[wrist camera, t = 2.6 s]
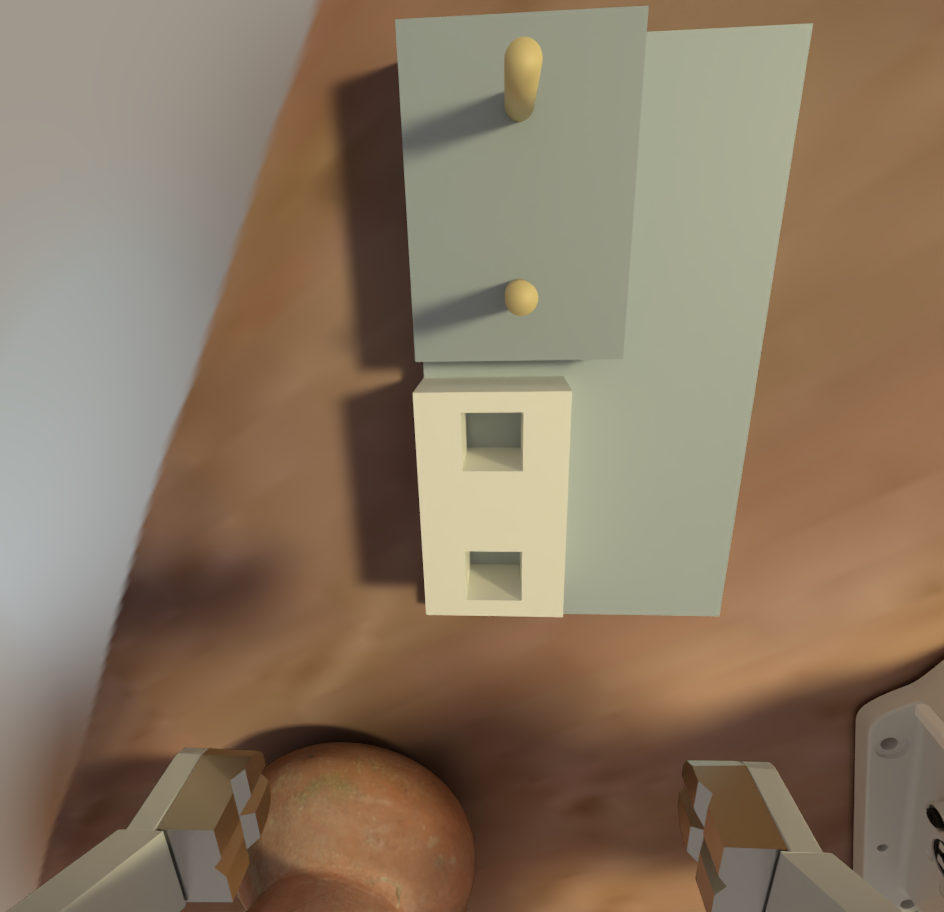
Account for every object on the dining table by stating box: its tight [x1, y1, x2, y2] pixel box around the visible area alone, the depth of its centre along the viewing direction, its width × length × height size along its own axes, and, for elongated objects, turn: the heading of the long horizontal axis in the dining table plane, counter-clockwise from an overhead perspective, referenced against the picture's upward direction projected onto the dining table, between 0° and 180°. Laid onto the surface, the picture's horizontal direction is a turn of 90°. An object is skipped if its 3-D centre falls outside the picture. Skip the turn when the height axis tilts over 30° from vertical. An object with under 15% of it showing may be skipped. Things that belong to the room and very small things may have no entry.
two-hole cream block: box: [413, 376, 572, 617], centre depth 23 cm, size 10×6×3 cm, turn 1°
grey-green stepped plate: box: [395, 6, 813, 616], centre depth 20 cm, size 24×14×7 cm, turn 1°
